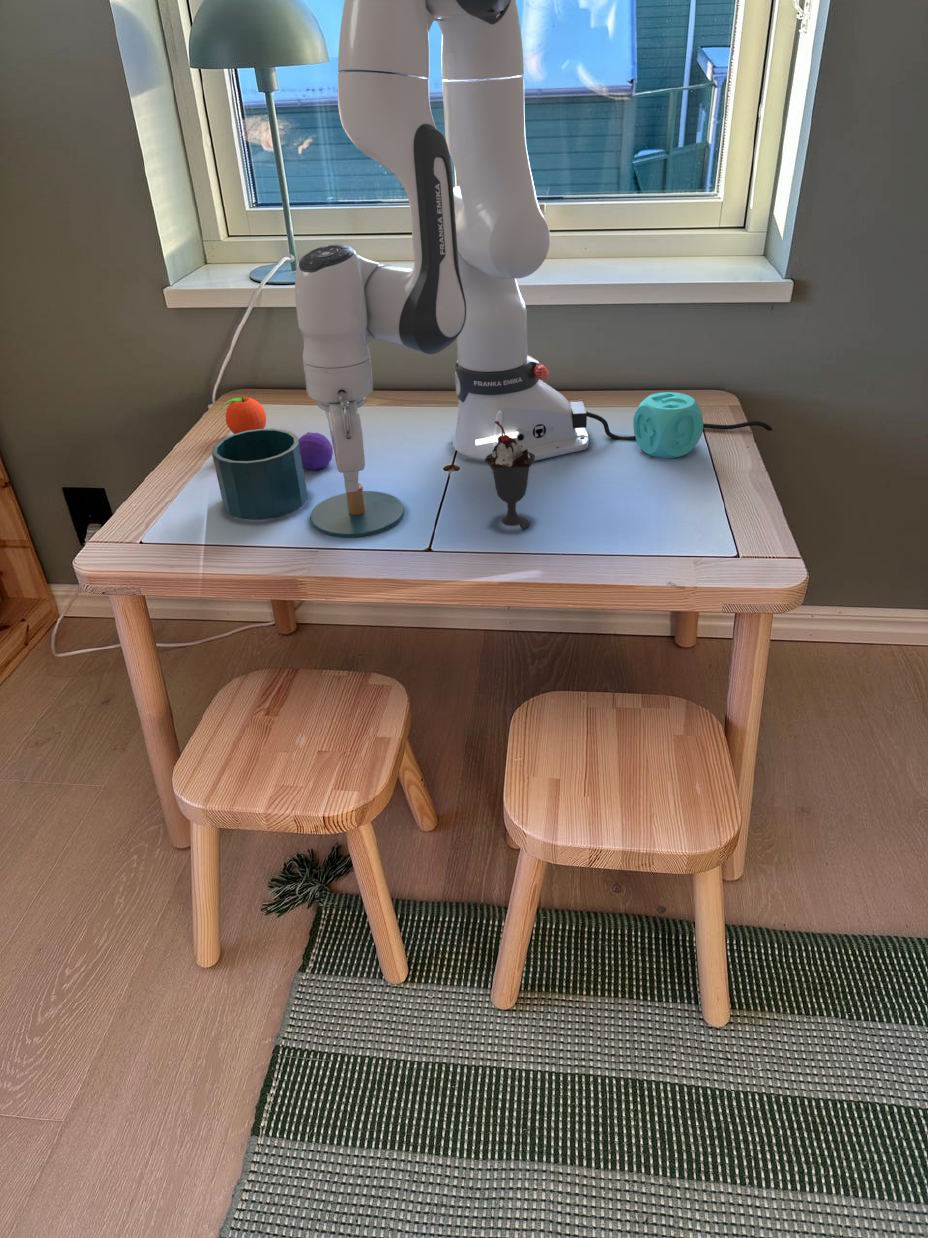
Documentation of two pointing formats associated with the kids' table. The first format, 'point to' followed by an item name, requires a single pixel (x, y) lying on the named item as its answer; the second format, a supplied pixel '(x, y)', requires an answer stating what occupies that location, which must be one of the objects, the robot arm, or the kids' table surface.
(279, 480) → the pot
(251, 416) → the clementine
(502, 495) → the sundae
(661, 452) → the decorative dice
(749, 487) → the kids' table surface
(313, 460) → the kendama
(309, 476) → the kids' table surface
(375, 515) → the lid
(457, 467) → the kids' table surface
